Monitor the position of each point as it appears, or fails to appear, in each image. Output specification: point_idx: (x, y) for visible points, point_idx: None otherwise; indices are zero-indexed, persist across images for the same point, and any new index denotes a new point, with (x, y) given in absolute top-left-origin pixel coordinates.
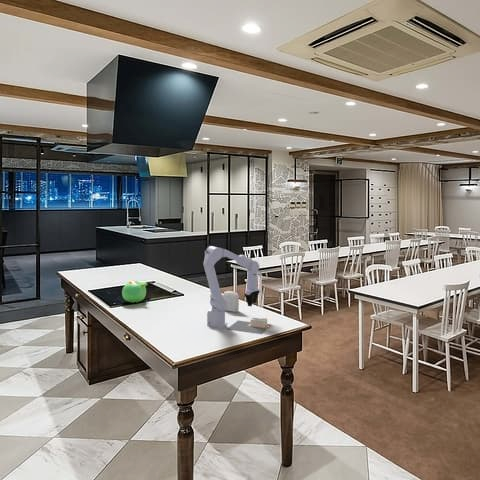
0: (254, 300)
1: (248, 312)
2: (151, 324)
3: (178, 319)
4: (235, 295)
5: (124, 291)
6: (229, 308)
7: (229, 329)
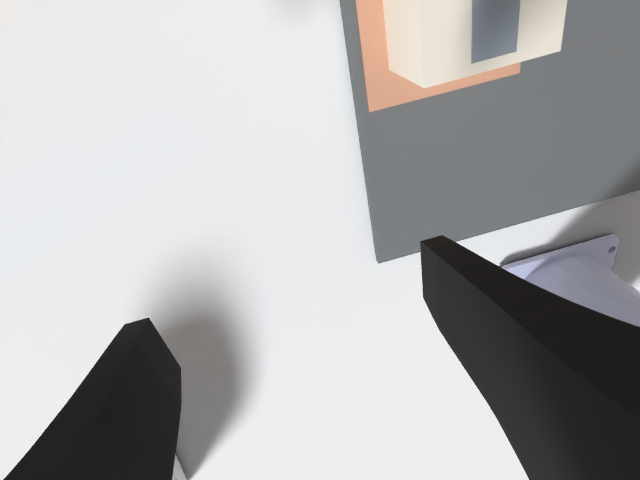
0: (152, 389)
1: (46, 359)
2: None
3: (500, 474)
4: None
5: None
6: (174, 477)
7: None
